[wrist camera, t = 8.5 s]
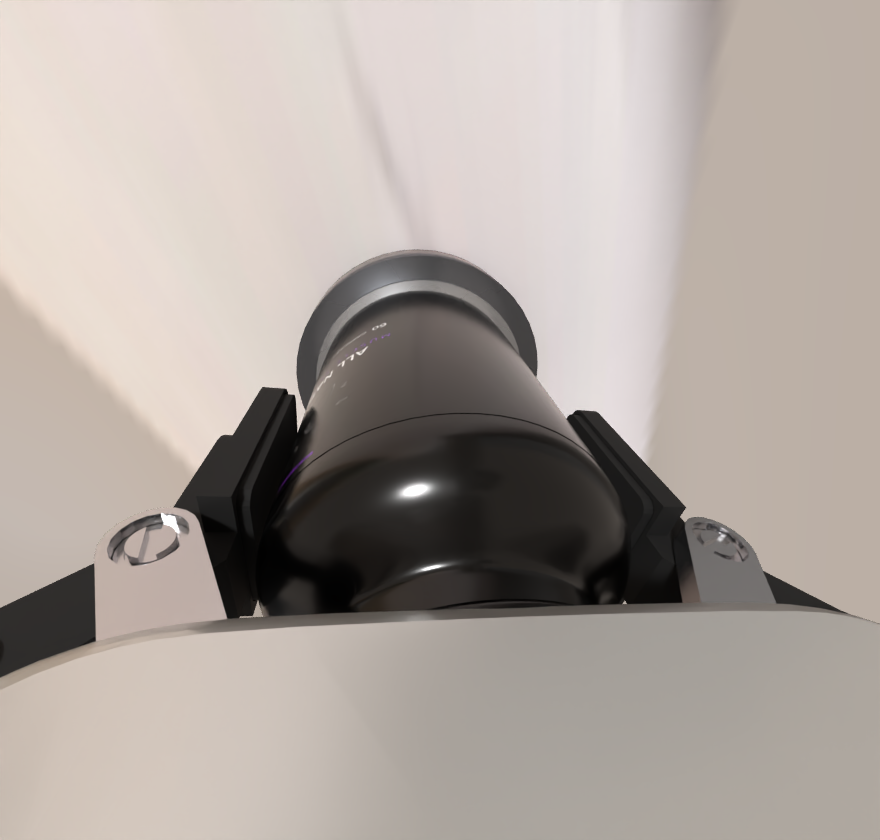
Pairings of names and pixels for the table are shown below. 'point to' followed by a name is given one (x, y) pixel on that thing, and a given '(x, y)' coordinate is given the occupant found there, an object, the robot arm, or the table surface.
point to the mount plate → (402, 276)
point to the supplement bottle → (437, 478)
